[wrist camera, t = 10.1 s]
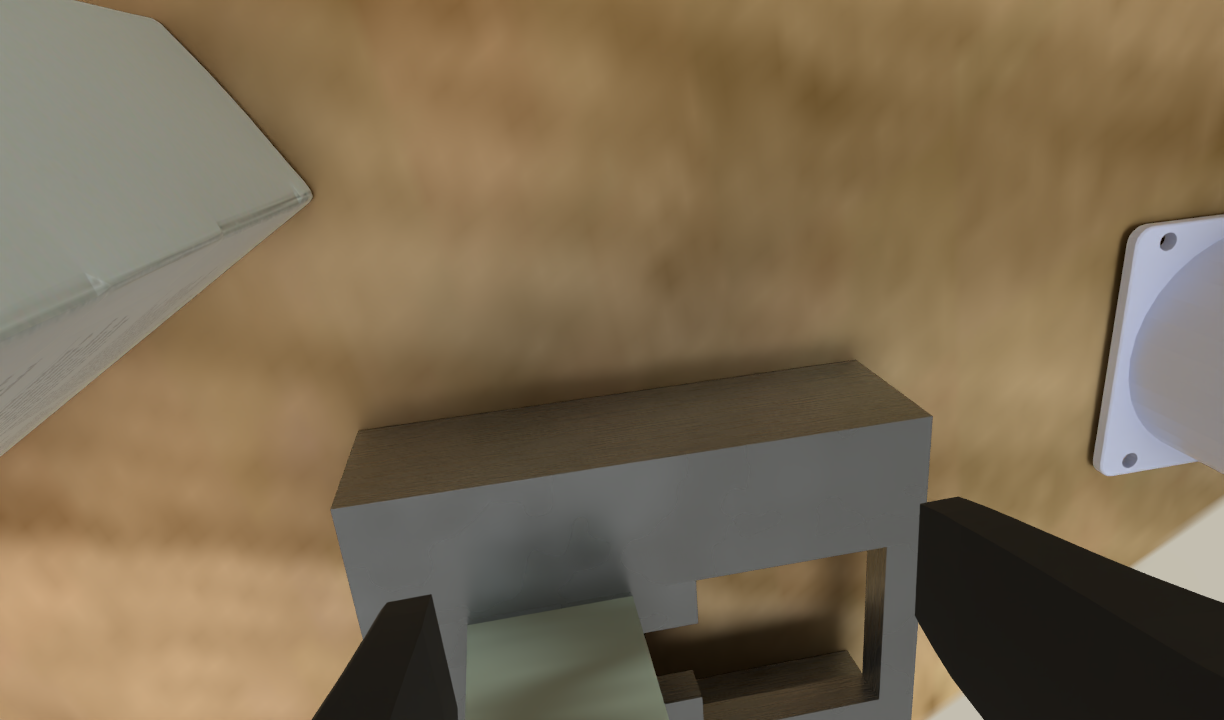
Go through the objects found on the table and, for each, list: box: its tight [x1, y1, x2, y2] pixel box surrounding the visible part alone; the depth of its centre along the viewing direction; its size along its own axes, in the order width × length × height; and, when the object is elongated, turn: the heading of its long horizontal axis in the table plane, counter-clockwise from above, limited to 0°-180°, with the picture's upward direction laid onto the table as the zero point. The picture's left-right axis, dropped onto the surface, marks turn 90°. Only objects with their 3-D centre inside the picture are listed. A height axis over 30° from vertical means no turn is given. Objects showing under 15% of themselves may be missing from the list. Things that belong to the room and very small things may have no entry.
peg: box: [465, 596, 669, 720], centre depth 19 cm, size 4×4×7 cm
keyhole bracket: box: [330, 360, 933, 720], centre depth 21 cm, size 14×12×4 cm
